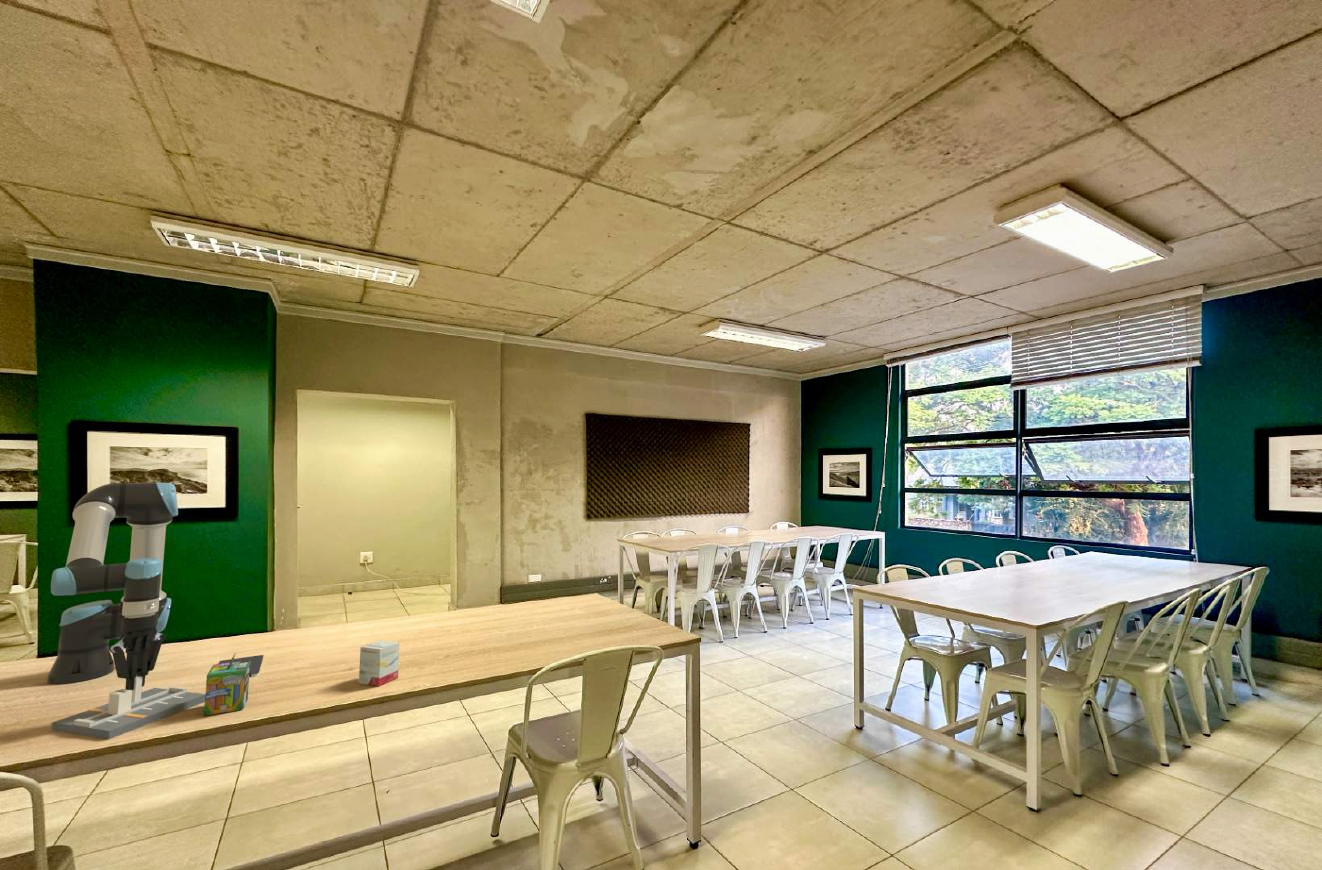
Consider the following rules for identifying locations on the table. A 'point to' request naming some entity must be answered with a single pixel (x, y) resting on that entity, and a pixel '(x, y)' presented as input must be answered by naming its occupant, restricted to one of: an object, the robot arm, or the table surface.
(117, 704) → the fader tab
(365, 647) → the ink box
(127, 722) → the console
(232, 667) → the chalk box
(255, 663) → the notebook
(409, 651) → the table surface
